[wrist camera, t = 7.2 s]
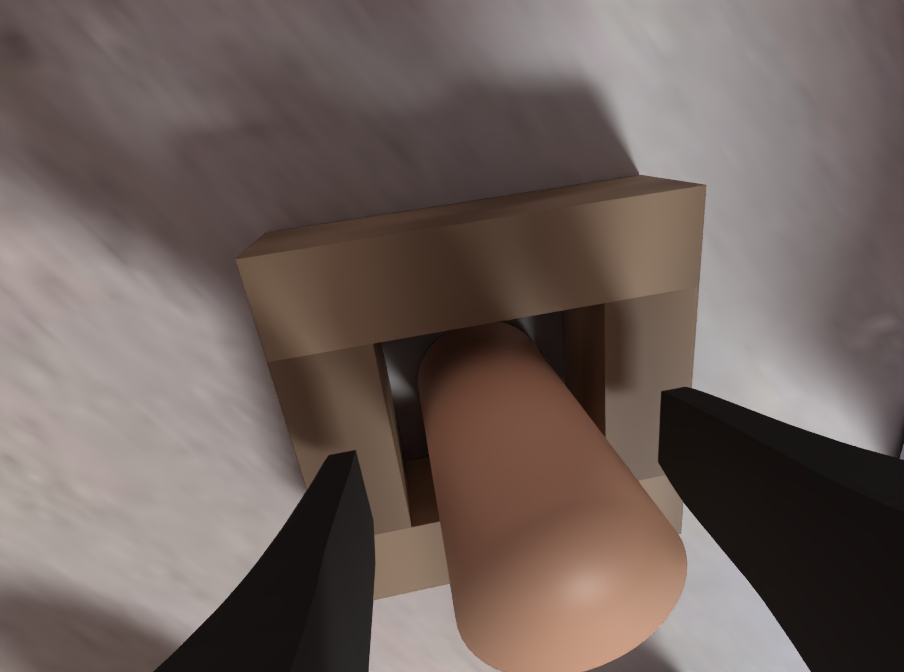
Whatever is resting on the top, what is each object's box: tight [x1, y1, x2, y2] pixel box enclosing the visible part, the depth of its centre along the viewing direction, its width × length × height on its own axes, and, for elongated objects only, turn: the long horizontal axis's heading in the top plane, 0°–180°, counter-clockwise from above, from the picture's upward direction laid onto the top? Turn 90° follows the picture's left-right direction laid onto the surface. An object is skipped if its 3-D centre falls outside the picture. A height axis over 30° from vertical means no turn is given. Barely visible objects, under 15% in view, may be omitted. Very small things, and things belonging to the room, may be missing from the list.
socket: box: [235, 175, 706, 600], centre depth 14 cm, size 10×10×3 cm
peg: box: [418, 321, 687, 672], centre depth 12 cm, size 4×4×8 cm
